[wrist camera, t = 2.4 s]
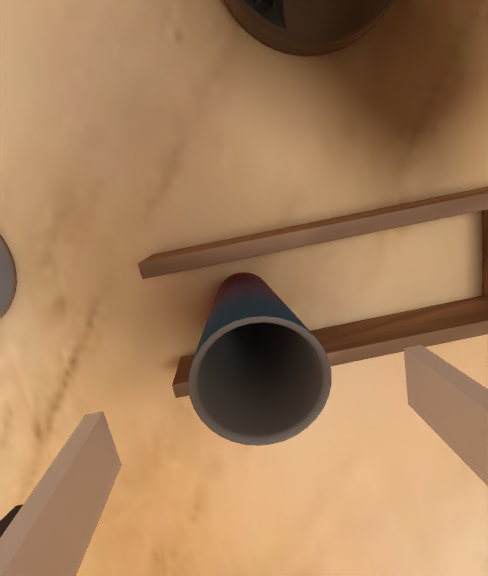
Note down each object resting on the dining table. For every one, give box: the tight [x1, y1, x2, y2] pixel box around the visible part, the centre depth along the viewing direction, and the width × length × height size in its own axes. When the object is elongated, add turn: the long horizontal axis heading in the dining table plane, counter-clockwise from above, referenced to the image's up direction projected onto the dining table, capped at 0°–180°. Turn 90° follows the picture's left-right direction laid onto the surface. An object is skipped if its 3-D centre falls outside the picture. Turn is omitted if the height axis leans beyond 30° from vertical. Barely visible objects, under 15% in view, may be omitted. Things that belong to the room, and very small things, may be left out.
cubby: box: [138, 187, 488, 398], centre depth 27 cm, size 11×31×5 cm, turn 101°
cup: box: [188, 273, 331, 446], centre depth 22 cm, size 7×7×15 cm
